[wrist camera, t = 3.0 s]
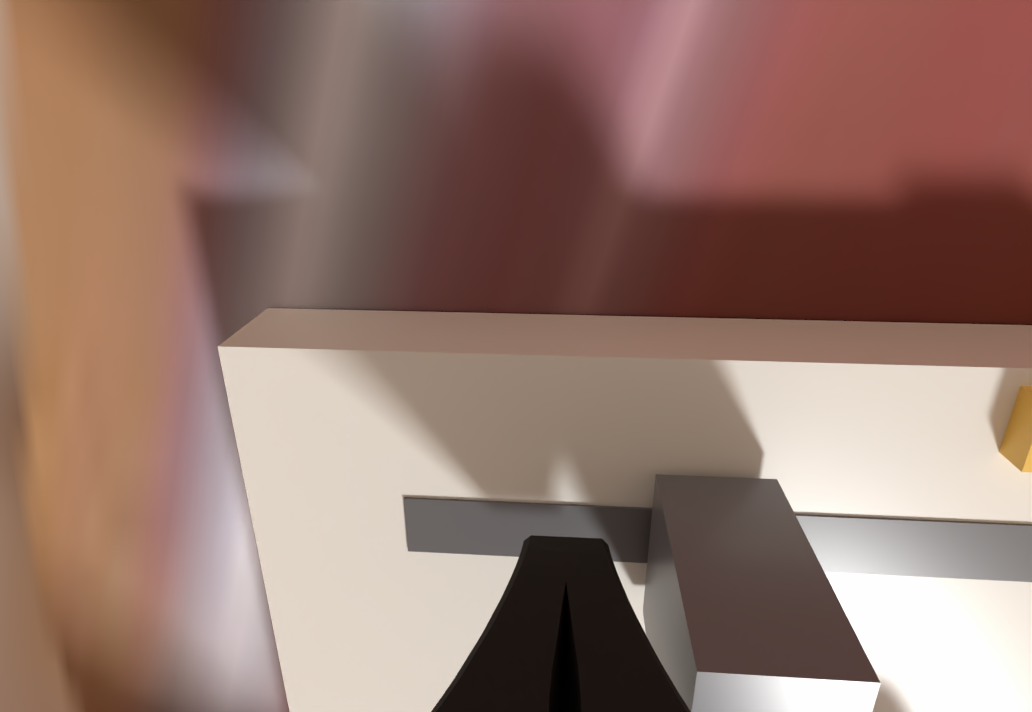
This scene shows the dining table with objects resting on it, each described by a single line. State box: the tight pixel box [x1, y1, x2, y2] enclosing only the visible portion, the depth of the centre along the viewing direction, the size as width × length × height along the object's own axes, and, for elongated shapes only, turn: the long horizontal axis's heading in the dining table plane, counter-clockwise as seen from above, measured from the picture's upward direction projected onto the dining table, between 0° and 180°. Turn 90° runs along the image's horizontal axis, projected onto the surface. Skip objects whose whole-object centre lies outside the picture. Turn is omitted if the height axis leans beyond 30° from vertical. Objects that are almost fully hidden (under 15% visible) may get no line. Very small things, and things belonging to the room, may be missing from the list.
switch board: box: [218, 308, 1032, 712], centre depth 14 cm, size 15×21×3 cm
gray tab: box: [643, 474, 881, 712], centre depth 10 cm, size 3×2×4 cm, turn 1°
